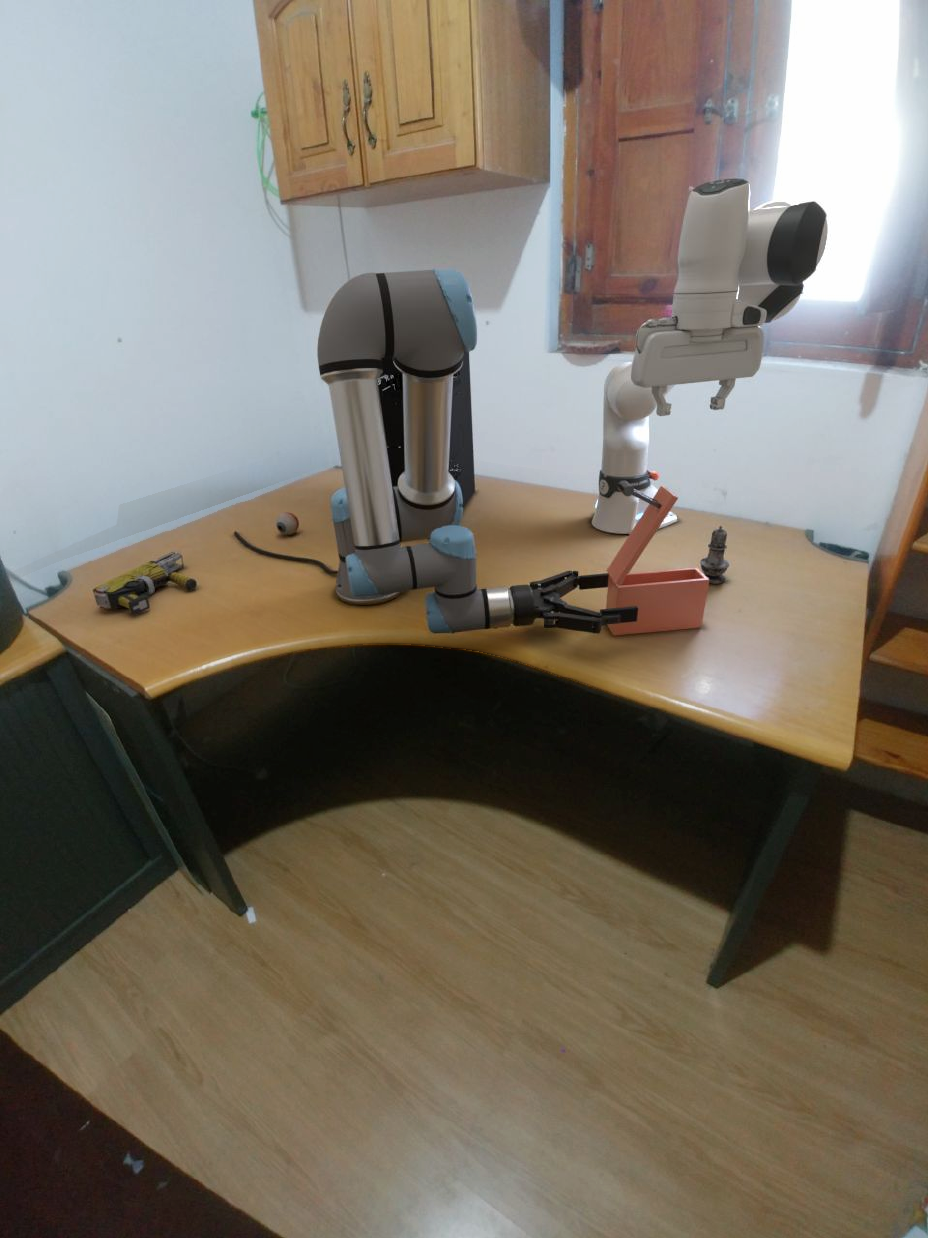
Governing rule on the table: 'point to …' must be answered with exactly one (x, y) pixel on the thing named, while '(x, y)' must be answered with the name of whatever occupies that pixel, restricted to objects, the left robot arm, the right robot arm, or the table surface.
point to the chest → (660, 600)
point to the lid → (640, 529)
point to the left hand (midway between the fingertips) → (624, 595)
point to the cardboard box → (458, 431)
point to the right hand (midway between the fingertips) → (690, 412)
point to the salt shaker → (716, 557)
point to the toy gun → (141, 584)
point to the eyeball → (287, 523)
